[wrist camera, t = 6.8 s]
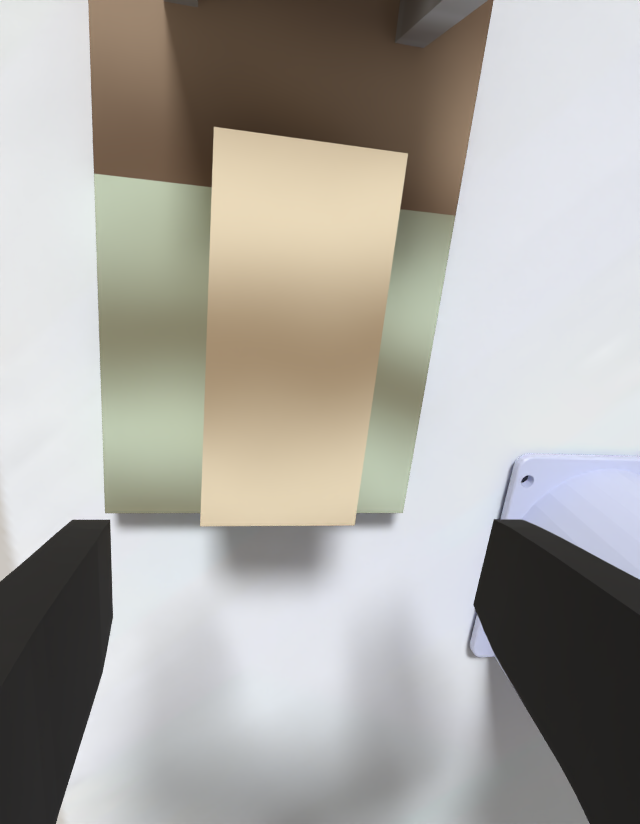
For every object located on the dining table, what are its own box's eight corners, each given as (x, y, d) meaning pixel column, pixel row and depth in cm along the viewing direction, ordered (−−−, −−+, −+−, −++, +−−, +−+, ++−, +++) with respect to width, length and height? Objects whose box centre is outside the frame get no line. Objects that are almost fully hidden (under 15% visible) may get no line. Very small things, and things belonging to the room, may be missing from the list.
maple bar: (326, 460, 18) (354, 525, 15) (203, 457, 17) (200, 526, 14) (361, 165, 15) (408, 153, 11) (214, 146, 14) (213, 126, 11)
